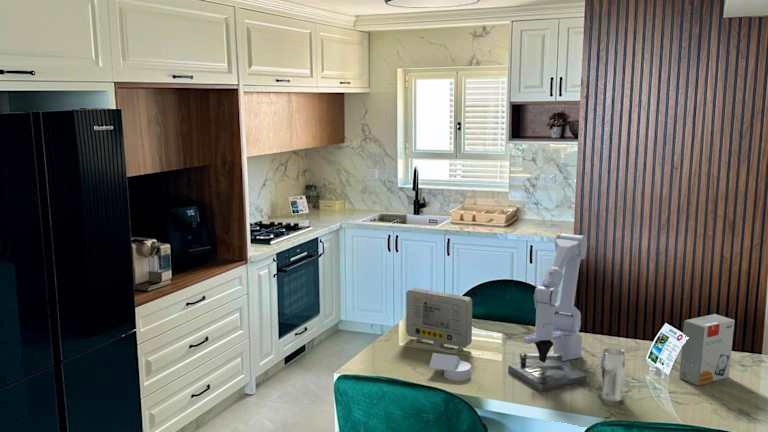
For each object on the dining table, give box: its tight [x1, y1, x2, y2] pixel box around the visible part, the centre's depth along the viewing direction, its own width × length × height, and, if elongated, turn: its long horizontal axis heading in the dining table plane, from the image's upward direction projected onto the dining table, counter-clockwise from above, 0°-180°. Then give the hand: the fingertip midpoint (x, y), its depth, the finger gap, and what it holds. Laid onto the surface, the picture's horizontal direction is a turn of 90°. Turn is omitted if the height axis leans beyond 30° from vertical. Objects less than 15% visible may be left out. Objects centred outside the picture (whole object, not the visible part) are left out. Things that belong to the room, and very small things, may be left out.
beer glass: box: [600, 347, 626, 403], centre depth 205 cm, size 7×7×15 cm
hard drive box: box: [678, 313, 735, 386], centre depth 218 cm, size 16×8×20 cm, turn 117°
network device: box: [405, 287, 473, 354], centre depth 249 cm, size 26×9×20 cm, turn 58°
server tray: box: [507, 359, 588, 394], centre depth 221 cm, size 18×18×4 cm
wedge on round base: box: [428, 352, 472, 382], centre depth 224 cm, size 9×7×13 cm
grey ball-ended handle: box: [519, 352, 563, 362], centre depth 225 cm, size 14×2×2 cm, turn 86°
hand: (542, 361), depth 223 cm, fingers closed, pressing on grey ball-ended handle
